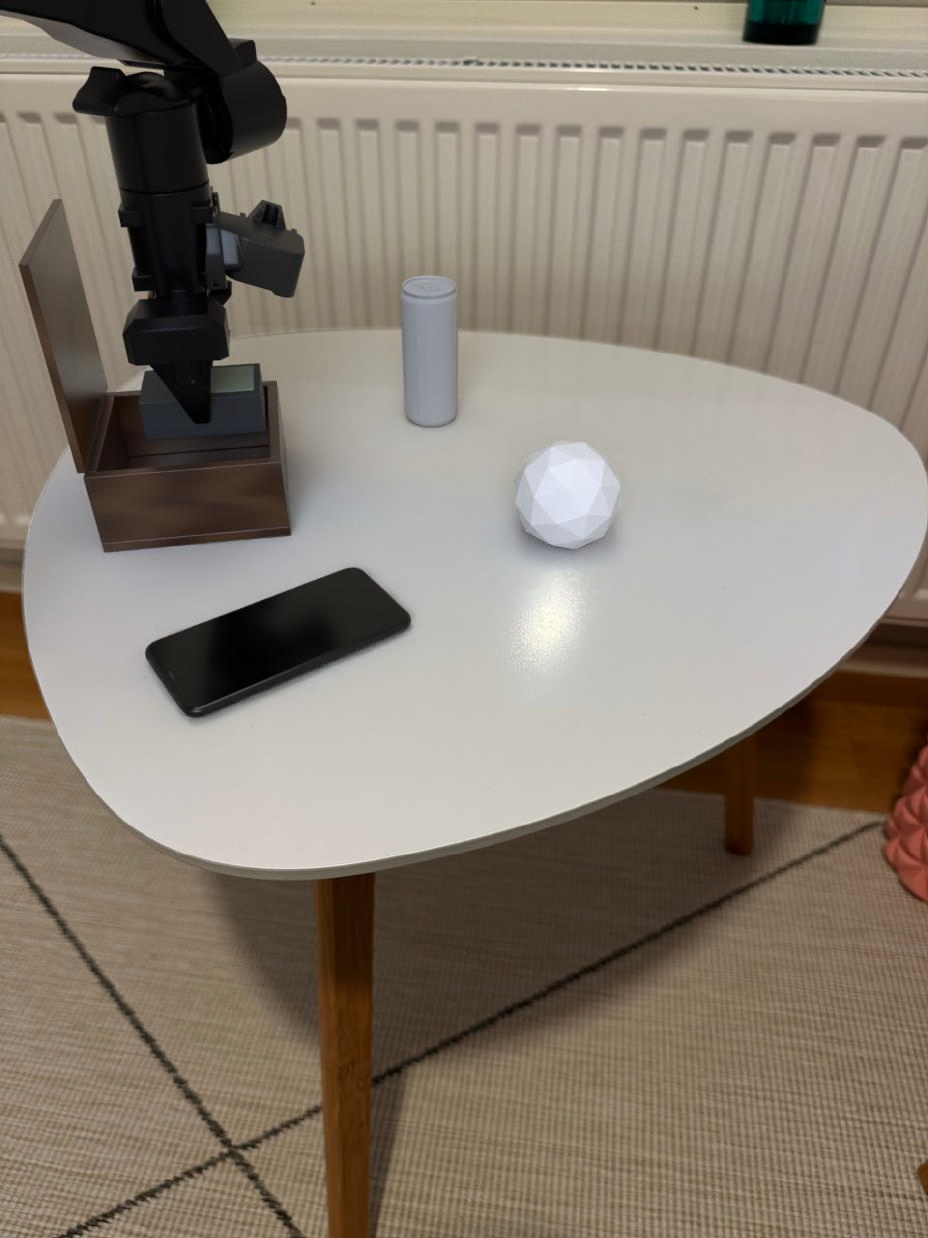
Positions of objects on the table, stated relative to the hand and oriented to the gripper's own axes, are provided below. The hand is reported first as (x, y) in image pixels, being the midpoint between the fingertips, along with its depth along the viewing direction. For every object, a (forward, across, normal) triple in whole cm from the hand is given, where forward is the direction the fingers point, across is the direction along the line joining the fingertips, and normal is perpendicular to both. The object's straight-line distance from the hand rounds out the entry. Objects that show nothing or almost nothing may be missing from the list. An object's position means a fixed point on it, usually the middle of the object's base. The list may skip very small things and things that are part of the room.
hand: (203, 404), depth 72 cm
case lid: (-6, +1, +8) cm, 10 cm away
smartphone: (+8, -19, -4) cm, 21 cm away
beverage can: (+8, +11, -18) cm, 23 cm away
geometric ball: (+8, -10, -26) cm, 29 cm away
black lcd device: (+1, 0, 0) cm, 1 cm away
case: (+8, +1, +2) cm, 8 cm away
